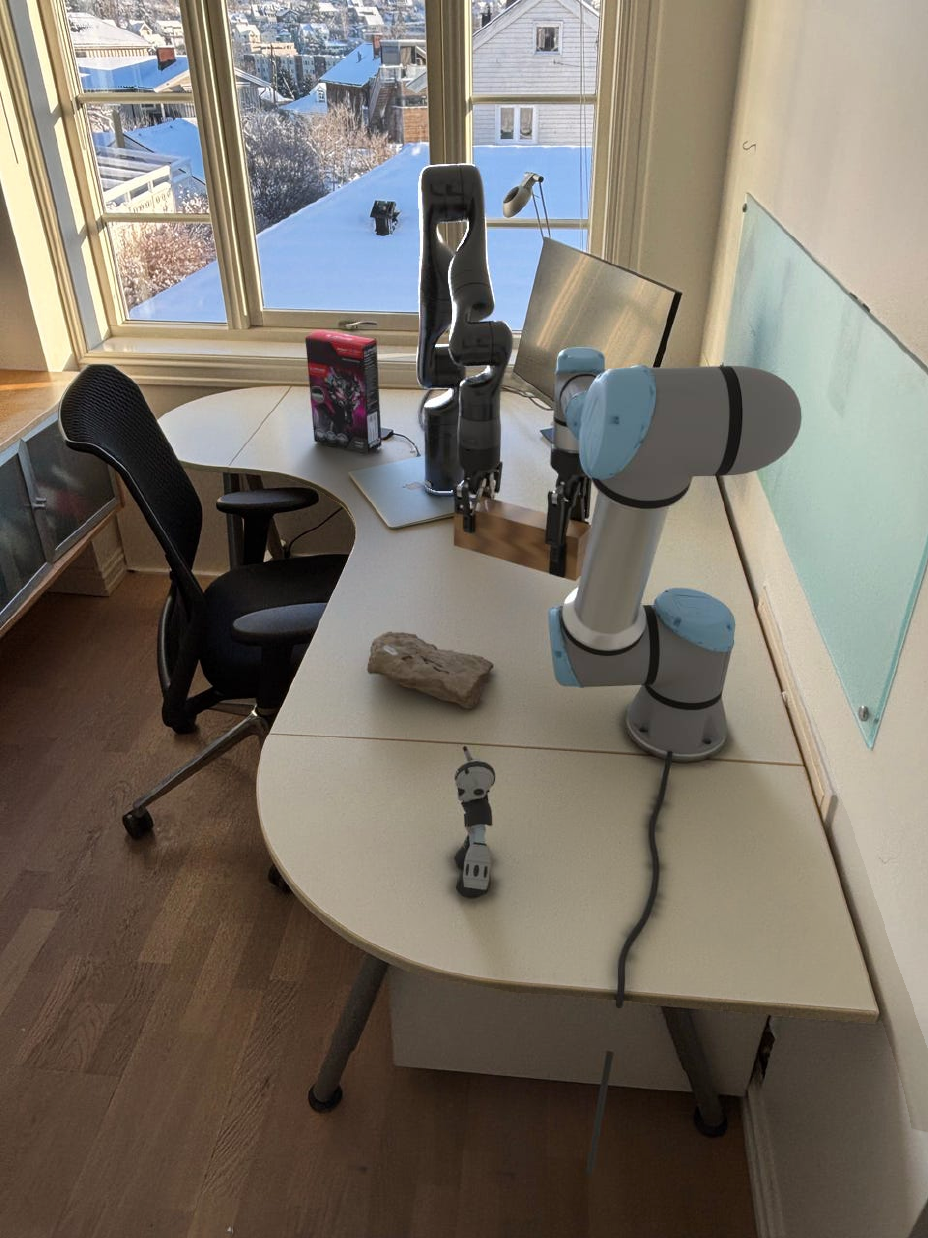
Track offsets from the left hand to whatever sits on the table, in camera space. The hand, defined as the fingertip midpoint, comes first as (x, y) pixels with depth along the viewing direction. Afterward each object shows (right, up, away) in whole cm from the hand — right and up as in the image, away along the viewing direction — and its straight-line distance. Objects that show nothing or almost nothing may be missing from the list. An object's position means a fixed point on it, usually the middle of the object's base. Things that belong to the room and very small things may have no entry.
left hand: (477, 524), depth 169 cm
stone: (-9, -28, -16) cm, 33 cm away
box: (+8, -6, -1) cm, 10 cm away
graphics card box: (-32, +27, +65) cm, 77 cm away
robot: (-1, -50, -50) cm, 71 cm away
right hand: (+15, -8, -5) cm, 18 cm away
